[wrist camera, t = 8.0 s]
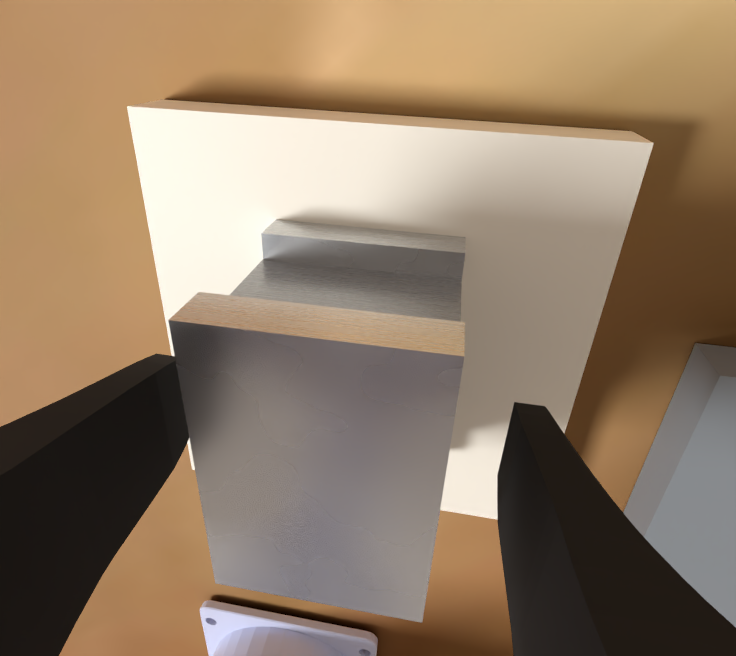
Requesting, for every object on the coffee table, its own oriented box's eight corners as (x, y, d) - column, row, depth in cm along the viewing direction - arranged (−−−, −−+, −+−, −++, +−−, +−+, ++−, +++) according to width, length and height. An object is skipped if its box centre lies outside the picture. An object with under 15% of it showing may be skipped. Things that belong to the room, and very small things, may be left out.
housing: (435, 450, 15) (422, 622, 10) (287, 429, 15) (215, 582, 11) (465, 237, 11) (463, 356, 7) (276, 219, 12) (167, 320, 8)
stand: (531, 488, 17) (536, 525, 15) (211, 438, 18) (192, 469, 17) (632, 130, 11) (653, 143, 10) (162, 99, 12) (126, 106, 11)
